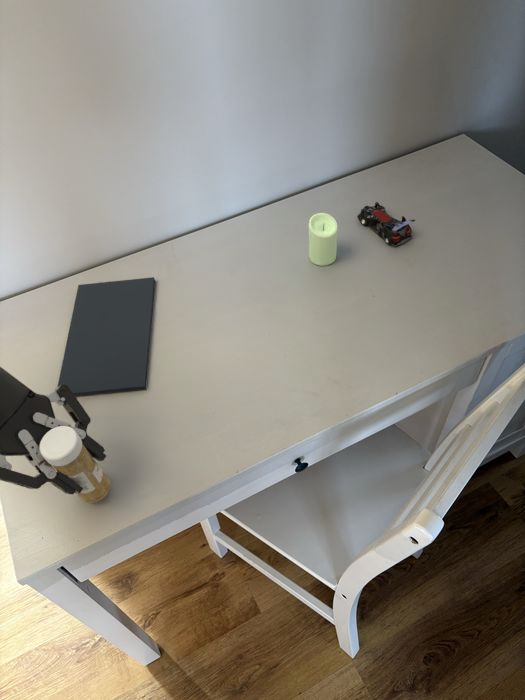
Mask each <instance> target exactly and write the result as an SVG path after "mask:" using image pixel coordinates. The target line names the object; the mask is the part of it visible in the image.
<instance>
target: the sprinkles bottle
mask: <svg viewBox="0 0 525 700" xmlns="http://www.w3.org/2000/svg"><path fill="white" fill-rule="evenodd" d="M40 453H41V455H42V456H43V457H44V459H45V460H46V461H47V462H48V463H49V464H51V465H52V466H53V468H54V469H55V470H56V472H61V473H63V474H64V475H65V476H67V477H68V478H70V479H71V480H72V481H74V482H75V483H77V484H78V485H79V486H81V487H82V488H83V490H82V491H81V493H80V494H77V496H78V498H79V499H80V500H81V501H82V502H84V503H88V504H93V503H97V502H100V501H101V500H103V499H104V498H105V497H106V496H107V495H108V493H109V491H110V488H111V480H110V478H109V475H107V474H106V473H105V472H104V471H103V469H102V467H101V466H100V464H98V461H97V460H96V459H95V458H93V457H92V455H91V454H90V453H89V451H88V450H87V449H86V448H85V446H84V445H83V444H82V440H81V438H80V436H79V435H78V434H77V432H76V431H75V430H74V429H73V428H71V427H68V426H59V427H55V428H53V429H51V430H50V431H48V432H47V433H46V434H45V435H44V436H43V438H42V440H41V442H40Z"/></svg>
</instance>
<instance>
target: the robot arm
mask: <svg viewBox="0 0 525 700" xmlns="http://www.w3.org/2000/svg"><path fill="white" fill-rule="evenodd" d="M52 403H53V404H55V405H56V406H58V407H60V406H62V407H63V408H64V410H65V411H66V413H67V415H69V417H70V418H71V420H72V421H73V422H74V424H75V425H74V426H73V425H72V424H70V423H67V422H65V421H62V420H60V419H57V418H56V416H55V411H54V408H53V405H52ZM91 420H92V419H91V417H90V416H89V414H88V412H87V411H86V410H85V408H84V407H83V405H82V404H81V402H80V401H79V400H78V397H77V396H74V394H73V393H72V391H71V390H70V388H69V387H68V386H67V385H61V386H59V387H58V386H57V387H56V388H55V389H54V390H53V391H51V392H50V393H48V394H46V395H45V394H39V393H37V392H35V391H34V390H32V389H31V388H29V387H28V386H27V385H26V384H24V383H23V382H22V381H20V380H19V379H18V378H16V377H15V376H14V375H12V374H11V373H10V372H8V371H7V370H6V369H5V368H3V367H2V366H0V481H2V482H5V483H9V484H12V485H16V486H19V487H23V488H25V489H29V490H38V489H40V488H41V487H42V486H44V485H45V484H46V483H50V484H51V485H53V486H54V487H56V488H57V489H58V490H60V491H61V492H62V493H64V494H65V495H73V496H74V494H76V495H78V494H80V493H81V491H82V490H83V488H82V487H81V486H79V485H78V484H77V483H75V482H74V481H72V480H71V479H70V478H68V477H67V476H65V475H64V474H63V473H61V472H57V470H56V469H55V468H54V467H53V465H51V464H49V463H48V462H47V461H46V460H45V459H44V457H43V456H42V455H41V453H40V442H41V440H42V438H43V436H44V435H45V434H46V433H47V432H48V431H50V430H51V429H53V428H55V427H59V426H68V427H71V428H73V429H74V430H75V431H76V432H77V434H78V435H79V436H80V438H81V440H82V444H83V445H84V446H85V448H86V449H87V450H88V451H89V453H90V454H91V455H92V457H93V458H94V460H95V461H97V462H104V461H105V459H106V458H107V454H105V452H106V449H105V447H104V446H103V445H102V444H100V443H99V442H97V440H95V439H94V438H92V437H91V436H89V435H88V432H87V430H88V426H89V425H90V424H91ZM14 456H15V457H23V456H24V458H25V459H26V460H27V462H28V463H29V464H30V465H31V466H32V467H33V468H34V469H35V471H36V472H37V473H38V474H36V475H35V476H32V475H29V474H25V473H22V472H20V471H15V470H12V469H13V465H12V463H10V462H9V461H7V458H6V457H14Z"/></svg>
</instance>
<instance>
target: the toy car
mask: <svg viewBox="0 0 525 700" xmlns="http://www.w3.org/2000/svg"><path fill="white" fill-rule="evenodd" d="M356 217H357V220H358V221H360V224H361V225H362V226H368V227H369V229H370V230H372V231H373V232H374V233H375V234H377V236H379V237H381V238H382V239H383V240H384V242H385V244H386V245H388V246H389V245H390V246H393V247H394V248H396V247H398V246H401V245H402V244H405V243H407V242H408V241H409V240H410V239H413V235H412V232H413V230H412V228H411V226H410V224H411V223H413V222H415V221H416V219H409V220H407V218H406V217H405V216H404V215H402V216H401V220H398V219H396V218H394V217H393V216H391V215H389V214H388V213H387V210H386V207H385V206H384V205H381V204H380V203H379V202H378V201H375V202H374V205H373V206H369V205H365V206H363V208H361V209H360V213H358V214H357V216H356Z"/></svg>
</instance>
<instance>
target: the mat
mask: <svg viewBox="0 0 525 700" xmlns="http://www.w3.org/2000/svg"><path fill="white" fill-rule="evenodd" d="M77 285H78V286H77V291H76V296H75V300H74V304H73V309H72V315H71V319H70V324H69V329H68V333H67V334H68V335H67V339H66V344H65V348H64V352H63V353H64V354H63V358H62V364H61V368H60V373H59V378H58V382H57V387H59V386H61V385H67V386H68V387H69V388H70V390H71V391H72V393H73V394H74V396H75V397H83V396H84V397H85V396H94V395H105V394H114V393H115V394H117V393H125V392H136V391H144V390H145V391H147V384H148V372H149V360H150V347H151V339H152V336H151V335H152V325H153V314H154V313H153V312H154V299H155V290H156V288H155V287H156V279H155V277H154V276H152V277H143V278H132V279H122V280H112V281H101V282H93V283H85V284H84V283H83V284H77Z"/></svg>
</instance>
